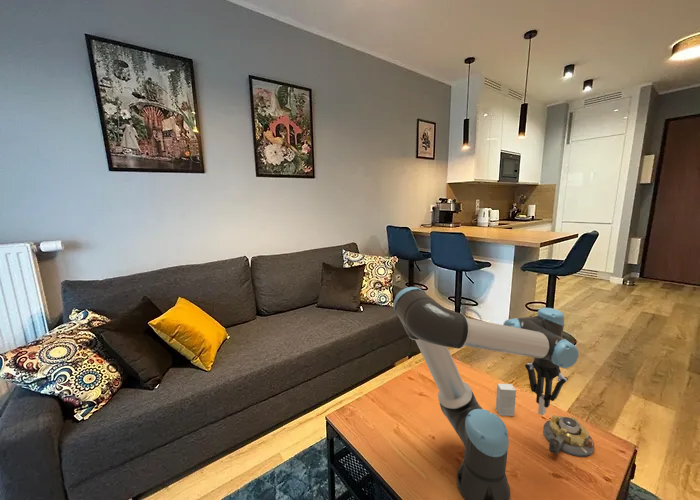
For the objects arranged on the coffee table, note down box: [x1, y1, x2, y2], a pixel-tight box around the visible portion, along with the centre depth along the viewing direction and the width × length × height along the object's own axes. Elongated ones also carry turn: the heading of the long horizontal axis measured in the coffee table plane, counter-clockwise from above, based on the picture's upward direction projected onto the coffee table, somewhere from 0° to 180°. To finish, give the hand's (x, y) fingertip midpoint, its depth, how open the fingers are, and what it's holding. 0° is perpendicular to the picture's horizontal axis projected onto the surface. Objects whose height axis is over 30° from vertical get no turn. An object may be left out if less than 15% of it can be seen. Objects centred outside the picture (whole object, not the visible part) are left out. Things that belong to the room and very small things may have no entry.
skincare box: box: [495, 383, 517, 417], centre depth 124 cm, size 6×4×12 cm
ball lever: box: [548, 414, 590, 455], centre depth 108 cm, size 19×11×4 cm, turn 126°
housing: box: [542, 416, 595, 458], centre depth 110 cm, size 15×15×8 cm
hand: (541, 412), depth 108 cm, fingers closed
